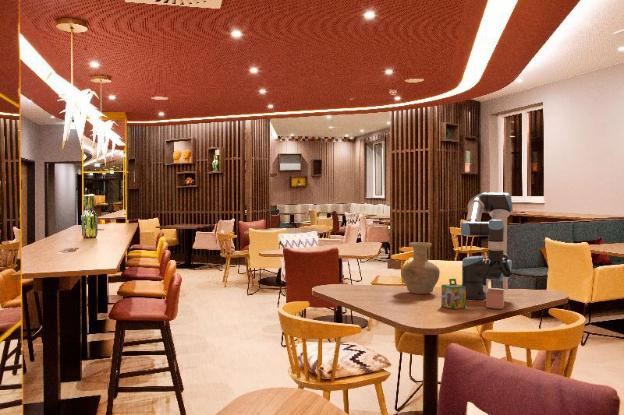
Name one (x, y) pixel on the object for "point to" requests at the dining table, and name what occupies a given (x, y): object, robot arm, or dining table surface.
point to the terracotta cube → (495, 298)
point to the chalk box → (453, 295)
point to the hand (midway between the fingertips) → (495, 290)
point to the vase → (420, 271)
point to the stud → (494, 308)
